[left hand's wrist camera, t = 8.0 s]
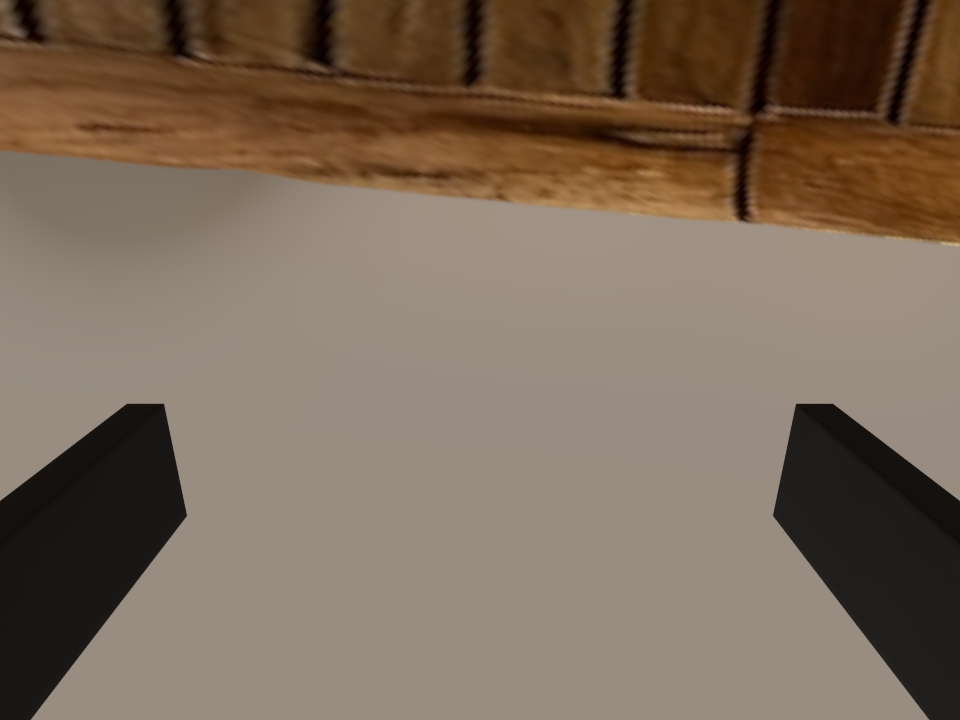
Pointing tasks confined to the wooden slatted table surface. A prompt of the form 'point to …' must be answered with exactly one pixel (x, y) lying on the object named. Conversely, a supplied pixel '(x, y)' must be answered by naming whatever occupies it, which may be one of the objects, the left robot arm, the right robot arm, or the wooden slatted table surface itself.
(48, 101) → the wooden slatted table surface
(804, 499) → the left robot arm
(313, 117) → the wooden slatted table surface
